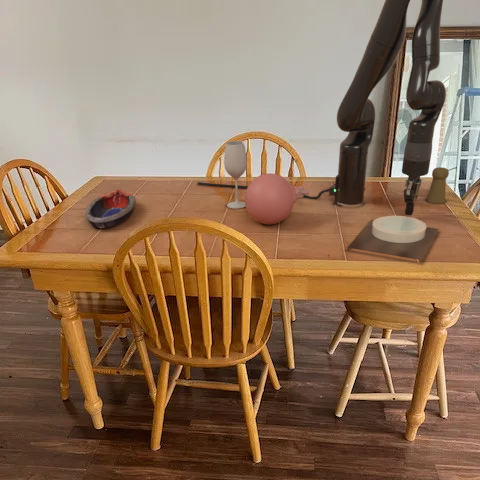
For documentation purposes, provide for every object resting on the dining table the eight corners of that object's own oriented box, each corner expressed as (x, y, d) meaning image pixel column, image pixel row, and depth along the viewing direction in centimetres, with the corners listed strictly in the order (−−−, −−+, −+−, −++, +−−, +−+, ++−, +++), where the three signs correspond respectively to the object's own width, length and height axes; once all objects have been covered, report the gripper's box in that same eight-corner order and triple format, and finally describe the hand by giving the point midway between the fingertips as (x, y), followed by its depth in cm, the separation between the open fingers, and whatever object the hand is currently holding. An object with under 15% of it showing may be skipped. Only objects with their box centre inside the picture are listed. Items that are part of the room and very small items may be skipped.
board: (346, 250, 138) (347, 247, 138) (371, 222, 156) (371, 219, 155) (421, 263, 130) (421, 260, 129) (438, 232, 147) (438, 228, 147)
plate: (365, 238, 143) (365, 229, 141) (379, 221, 154) (380, 212, 152) (418, 246, 136) (420, 237, 135) (429, 228, 147) (431, 219, 146)
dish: (76, 232, 157) (72, 217, 154) (103, 201, 183) (100, 188, 180) (124, 232, 156) (122, 216, 153) (145, 200, 182) (143, 187, 180)
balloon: (309, 231, 151) (312, 181, 143) (244, 232, 153) (242, 182, 145) (307, 214, 164) (309, 167, 156) (246, 214, 166) (245, 168, 158)
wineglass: (222, 207, 173) (219, 145, 162) (231, 200, 179) (228, 140, 168) (243, 209, 170) (241, 146, 159) (251, 202, 176) (249, 141, 165)
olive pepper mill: (446, 203, 168) (452, 170, 162) (427, 203, 169) (432, 170, 164) (443, 197, 173) (449, 165, 167) (425, 197, 174) (430, 165, 169)
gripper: (409, 150, 151) (401, 206, 160) (398, 161, 141) (391, 219, 150) (434, 152, 148) (425, 209, 157) (425, 163, 138) (416, 223, 147)
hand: (408, 214), depth 153 cm, fingers closed
